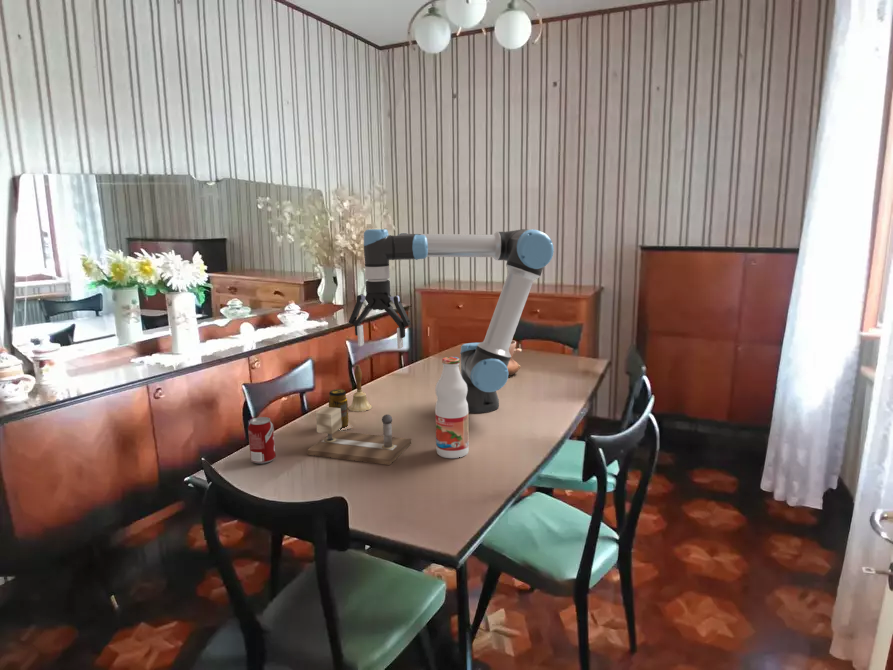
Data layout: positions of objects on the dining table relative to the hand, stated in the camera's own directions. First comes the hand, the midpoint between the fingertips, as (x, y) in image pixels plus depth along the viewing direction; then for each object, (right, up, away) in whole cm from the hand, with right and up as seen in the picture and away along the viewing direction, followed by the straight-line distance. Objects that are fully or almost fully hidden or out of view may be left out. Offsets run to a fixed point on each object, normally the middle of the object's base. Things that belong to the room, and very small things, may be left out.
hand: (380, 346), depth 187 cm
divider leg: (-14, -27, -10) cm, 32 cm away
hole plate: (-5, -30, -13) cm, 33 cm away
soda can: (-31, -32, -19) cm, 49 cm away
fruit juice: (+23, -30, -16) cm, 41 cm away
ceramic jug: (+44, -13, +65) cm, 80 cm away
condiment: (-14, -27, +6) cm, 31 cm away
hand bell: (-10, -23, +24) cm, 35 cm away
